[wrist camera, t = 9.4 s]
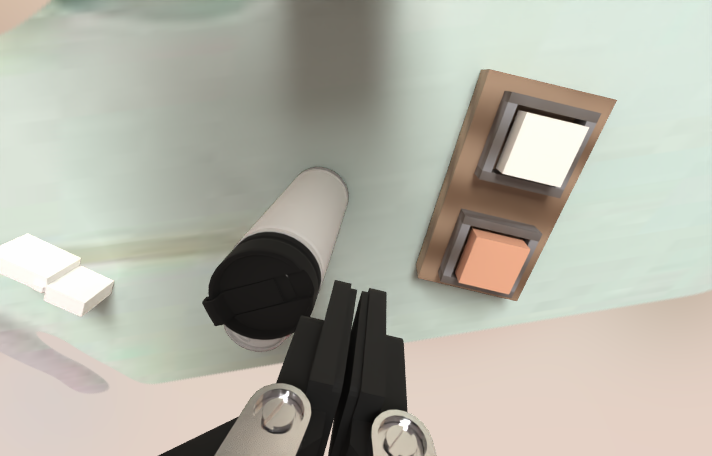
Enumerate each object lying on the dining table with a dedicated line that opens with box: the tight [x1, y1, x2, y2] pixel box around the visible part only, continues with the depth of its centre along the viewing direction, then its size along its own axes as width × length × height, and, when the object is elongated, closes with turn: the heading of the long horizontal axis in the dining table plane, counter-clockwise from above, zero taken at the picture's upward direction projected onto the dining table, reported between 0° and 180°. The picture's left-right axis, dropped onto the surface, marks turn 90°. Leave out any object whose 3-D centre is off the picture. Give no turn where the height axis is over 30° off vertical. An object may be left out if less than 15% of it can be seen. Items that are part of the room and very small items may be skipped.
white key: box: [496, 110, 589, 187], centre depth 29 cm, size 5×5×2 cm
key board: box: [416, 69, 617, 301], centre depth 34 cm, size 21×11×5 cm, turn 168°
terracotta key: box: [455, 228, 530, 294], centre depth 34 cm, size 5×5×2 cm
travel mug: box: [202, 167, 349, 340], centre depth 29 cm, size 6×7×20 cm
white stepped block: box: [0, 233, 114, 317], centre depth 43 cm, size 15×11×6 cm
